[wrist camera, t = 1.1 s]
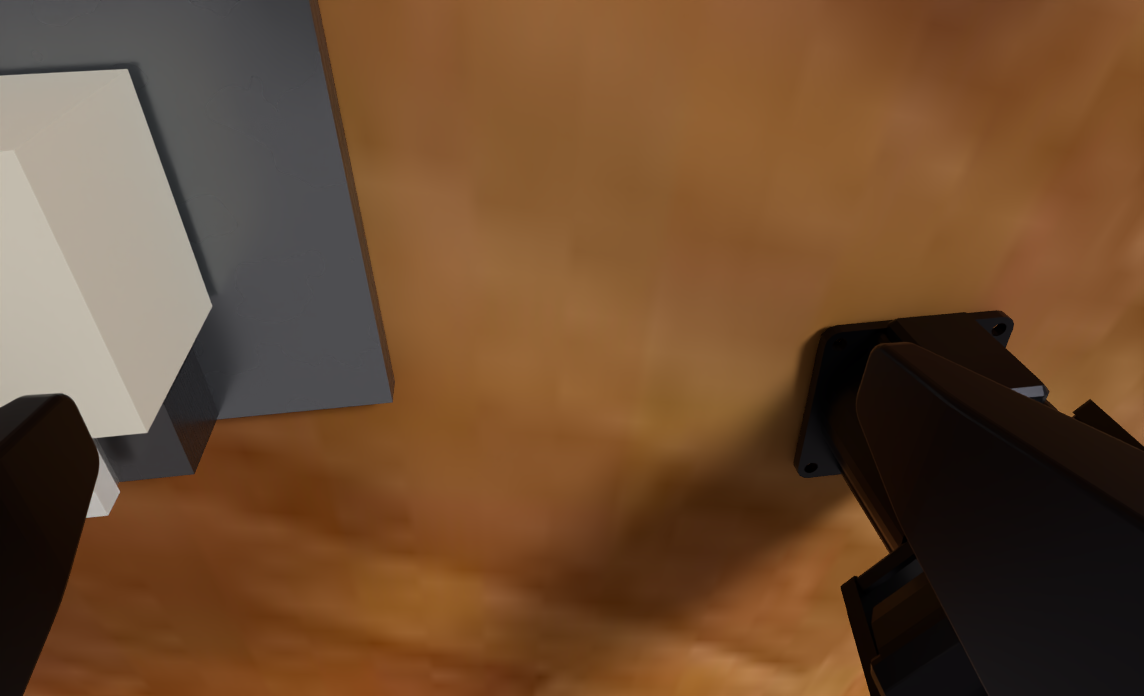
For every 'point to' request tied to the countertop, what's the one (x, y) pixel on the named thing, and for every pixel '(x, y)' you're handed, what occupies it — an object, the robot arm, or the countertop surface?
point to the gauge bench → (235, 204)
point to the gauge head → (91, 256)
